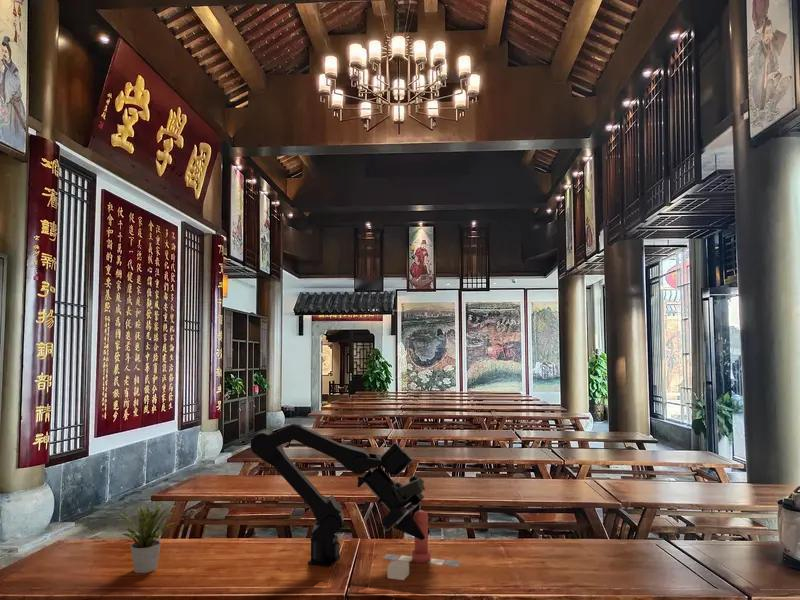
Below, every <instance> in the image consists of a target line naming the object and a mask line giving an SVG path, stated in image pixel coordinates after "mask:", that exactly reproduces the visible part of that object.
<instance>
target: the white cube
mask: <svg viewBox="0 0 800 600" xmlns="http://www.w3.org/2000/svg"><path fill="white" fill-rule="evenodd" d="M386 569H387V574H386V575H387V579H393V580H400V581H404V580H405V579H406V578H407V577H408V576H409V575H410V562H409V561H399V560H398V559H396V560H392V561H390V562H389V563H388V565H387V568H386Z"/></svg>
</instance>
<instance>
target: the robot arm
mask: <svg viewBox="0 0 800 600" xmlns="http://www.w3.org/2000/svg"><path fill="white" fill-rule="evenodd" d="M292 441H296V442H297V443H301V444H303V445H304V446H307V447H309V448H311V449H313V450H315V451H317V452H319V453H322V454H324V455H326V456H328V457H330V458H332V459H334V460H335V461H337V462H338V463H339V464H340V465H342V466H343V467H344V468H345V469H347V471H348V470H349V471H350V472H351V473H353V474H355V475H357V488H362V487H363V486H365V485H366V486H367V488H369V490H370V491H371V492H372V493H373V494H374V495H375V496H376V497H377V501H376V502H377V503H378V504H379V505H381V504H383V505H384V507H385V508H386V509H387V510H388V511H389V512H388V513H387V514H386V515H385V516H384V517H383V518H382V519H381V527H382V528H383V529H384V530H385V532H387V531H389V530H390V529H391V528H392V527H393V530H398V531H400V532H402V533H405V534H407V535H409V536H412V537H416V538H418V539H421V540H423V539H424V538H425V536H424V534H423V532H422V531H421V529H420V528H419V527H418V525H417V524H416V522H415V521H414V519H413V517H414V514H415V513H416V512H417V511H419V510H422V505H423V504H422V500H424V498H425V496H424V495H423V494H422V493H423V491H425V490H426V488H425V486H424V483H425V481H424V480H423V479H422V478H421V477H419V476H418V475H417V474H416V475H413V476H410V478H409V482H407V483H405V484H403V485H402V483H400V482H394V480H393V479H392V478H391V477H390V476H392V477H393V476H395V475H396V476H399V475H401V473H402V472H403V471H404V470H406V468H408V467H409V466H410V464H412V462H414V459H413V458H412V457H411V456H410V455H409V453H408V451H406V450H405V449H404V448H402V447H401V446H400V445H398V443H396V442H395V441H394V442H393V443H392V444H391V445H390V447H389V448H388V449H387V450H386V451H384V452H383V454H382V455H381V454H377V453H371V452H368V450H367V449H365V448H362V447H359V446H354V445H350V444H345V443H340V442H338V441H336V440H334V439H331V438H329V437H327V436H325V435H323V434H321V433H318V432H317V431H314V430H313V429H310V428H308V427H305V426H303V424H301V423H300V422H292V423H291V424H288V425H286V426H283V427H280V428H276V429H274V430H270V429H269V430H268V429H264V430H260V431H259V432H258V433H256V434H255V435H254V436H253V437H252V438H251V440H250V450H251V451H252V453H253V454H254V455H255V456H257V457H258V458H260V460H262V461H264V462H265V463H267V464H269V465H270V466H272V467H273V468H274V469H275V470H276V471H277V472H278V473H279V474H280V475H281V477H282V478H283V479H284V480H285V481H286V482H287V483H288V484H289V486H290V487H291V488H292V489H293V490H294V491H295V493H297V494H298V496H299V497H300V498H301V499H302V500H303V501H304V503H306V504H307V505H308V507H309V508H310V510H311V512H312V514H313V517H314V519H315V521H316V522H314V525H313V528H312V530H311V534H310V535H311V537H310V558H309V560H307V564H310V565H319V566H326V567H327V566H328V567H330V566H332V565H334V564H335V563H336V562H337V561H339V560H340V559H341V554H340V552H341V551H340V545H341V544H340V542H339V536H338V535H336V533H338V532H339V531H340V529H342V528H343V524H344V511H343V509H342V507H343V505H342V504H341V503H339V502H338V501H337V500H336V498H335V497H334V495H333V494H331V495H330V496H329V497H326V496H325V495H323V494H322V493H321V492H320V491H319V490H318V489H317V488H316V486H315V485H314V484H313V483H312V482H311V481H310V480H309V479H308V478H307V477H306V475H305V474H304V473H303V472H302V471H301V469H299V467H297V465H296V464H295V463H294V462H293V460H291V459H290V458H289V457H288V456H287V453H286V452H285V450H284V448H283V445H285V444H286V443H289V442H292ZM383 468H384V469H383ZM359 475H363V476H359ZM389 475H390V476H389ZM395 524H396V525H395ZM394 525H395V526H394ZM430 533H431V531H430V528H429V527H428V535H429V534H430Z"/></svg>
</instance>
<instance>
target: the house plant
mask: <svg viewBox="0 0 800 600" xmlns="http://www.w3.org/2000/svg"><path fill="white" fill-rule="evenodd" d="M162 504H163V503H160V504H159V505H157V506H156V509H155V510H154V511H150V509H149V507H148V505H147V504H146V502H144V506H143V505H141V506H139V505H138V506H137V514H138V526H137V525H136V524H135V522H134V521H133V520H132V518H130V517H128V516H127V515H126V514H125V513H124V514H123V513H121V512H118V514H120V515H121V516H123V517H125V518H126V519H127V520H128V521H129V522H130V524H132V526H133V528H134V529H135V530H133V529H132V528H130V527H128V526H125V529H127V531H128V533H125V532H124V533H121V534H120V536H126V537H128V538H130V539H131V540H133V543H132V544H130V551H131V558H132V565H133V571H134V573H135V574H146V573H151V572H154V571H156V570H157V569H158V562H159V556H160V550H161V544H162V541H161V540H160V538H159V536H162V535H163V534H164V531H165V530H166V529H167V528H170V529H171V527H170V525H173V524H175V522H173V523H172V522H170V523H168V524H166V525H161V524H162V522H163V521H164V520H165V519H166V518H167V517H168V516H170V515H172V514H174V512H170V513H167V511H169V510H170V509H171V508H174V507H177V506H178V505H171V506H168V507H167V508H165V510H163V511H162V512H161V513H160V511H161V506H162ZM159 513H160V515H159ZM163 515H165V516H164V517H163V518H162V516H163ZM161 518H162V519H161ZM160 519H161V521H160ZM159 521H160V522H159ZM158 522H159V524H158V525H157V523H158ZM156 526H157V527H156ZM155 527H156V529H155ZM160 529H161V531H159V530H160Z"/></svg>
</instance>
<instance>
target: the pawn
mask: <svg viewBox="0 0 800 600" xmlns="http://www.w3.org/2000/svg"><path fill="white" fill-rule="evenodd" d="M413 519H414V521H415V522H416V524H417V525H418V527H419V528H420V529H421V531H422V532H423V534H424V536H425V538H424V539H423V540H421V539H418V538H416V537H414V536H413V537H414V538H413V539H414V541H413V543H414V547H413V548H414V550H412V552H411V556H412V561H411V562H412V563H416V564H428V562H430V560H431V559H432V558H431V550H430V549H429V534H428V528H429V526H428V525H429V523H428V522H429V515H428V513H427V512H426V511H425V510H422V509H421V510H419V511H417V512H416V513H415V514H414V517H413Z"/></svg>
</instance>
